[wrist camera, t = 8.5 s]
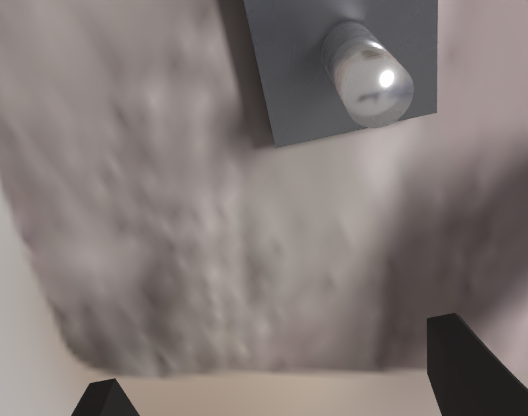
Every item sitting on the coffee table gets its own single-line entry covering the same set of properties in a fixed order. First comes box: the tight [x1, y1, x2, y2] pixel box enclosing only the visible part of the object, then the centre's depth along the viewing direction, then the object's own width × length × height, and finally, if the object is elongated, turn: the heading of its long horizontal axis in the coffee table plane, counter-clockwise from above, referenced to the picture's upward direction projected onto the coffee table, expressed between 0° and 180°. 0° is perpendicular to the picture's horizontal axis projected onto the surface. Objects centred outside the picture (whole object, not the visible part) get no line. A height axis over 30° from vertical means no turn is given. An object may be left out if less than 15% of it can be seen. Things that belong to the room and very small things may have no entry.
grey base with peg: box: [243, 0, 438, 148], centre depth 14 cm, size 6×6×5 cm
